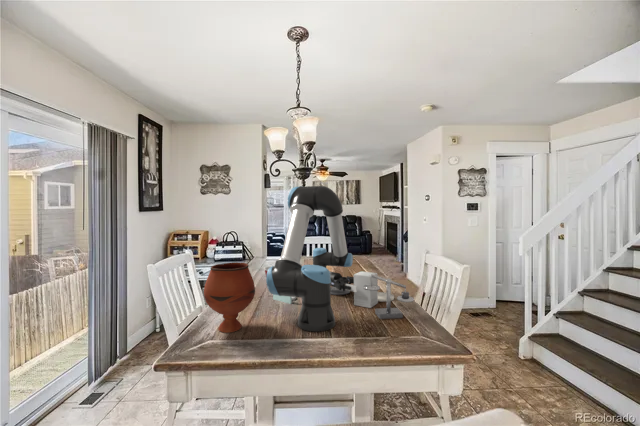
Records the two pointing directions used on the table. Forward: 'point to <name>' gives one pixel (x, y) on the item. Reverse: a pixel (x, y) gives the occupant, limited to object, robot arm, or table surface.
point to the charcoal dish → (338, 291)
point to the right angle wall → (284, 298)
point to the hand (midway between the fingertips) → (365, 286)
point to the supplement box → (362, 295)
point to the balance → (389, 299)
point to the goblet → (229, 292)
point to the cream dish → (383, 297)
